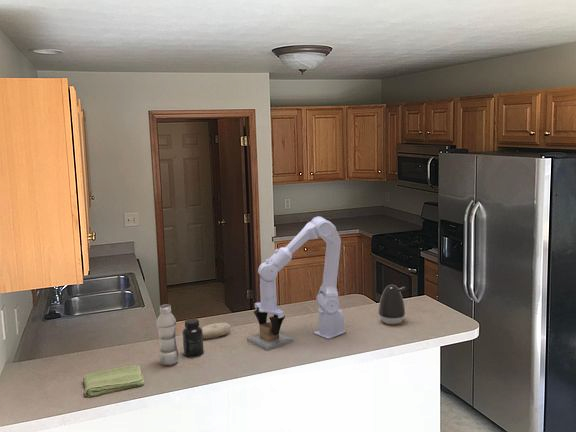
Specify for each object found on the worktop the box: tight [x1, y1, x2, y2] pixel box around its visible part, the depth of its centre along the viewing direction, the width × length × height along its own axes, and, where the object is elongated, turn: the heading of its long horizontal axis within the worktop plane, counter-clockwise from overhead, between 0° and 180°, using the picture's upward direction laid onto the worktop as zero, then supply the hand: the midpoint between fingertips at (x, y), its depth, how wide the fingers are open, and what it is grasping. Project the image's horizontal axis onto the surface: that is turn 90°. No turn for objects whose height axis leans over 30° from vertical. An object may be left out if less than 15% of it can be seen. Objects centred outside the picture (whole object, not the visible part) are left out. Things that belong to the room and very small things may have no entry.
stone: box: [201, 322, 232, 339], centre depth 203 cm, size 6×6×12 cm
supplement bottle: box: [182, 318, 205, 358], centre depth 187 cm, size 7×7×12 cm
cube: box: [258, 321, 279, 342], centre depth 197 cm, size 5×5×5 cm
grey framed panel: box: [246, 332, 294, 351], centre depth 197 cm, size 12×12×1 cm
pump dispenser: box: [378, 284, 406, 325], centre depth 211 cm, size 10×10×15 cm
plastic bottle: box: [156, 303, 180, 366], centre depth 180 cm, size 6×7×20 cm
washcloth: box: [82, 364, 145, 398], centre depth 168 cm, size 13×18×3 cm
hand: (269, 331), depth 197 cm, fingers open, 7 cm apart
